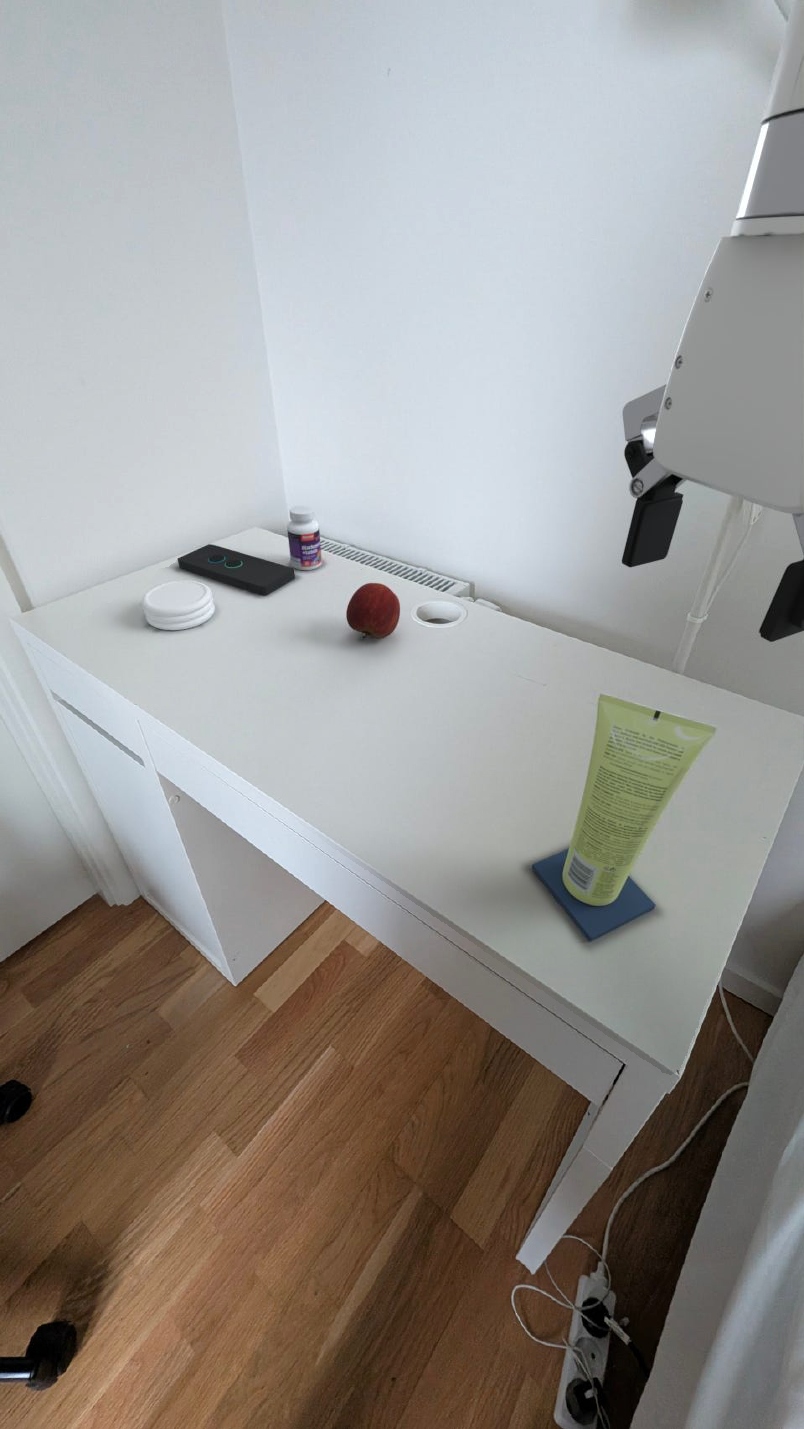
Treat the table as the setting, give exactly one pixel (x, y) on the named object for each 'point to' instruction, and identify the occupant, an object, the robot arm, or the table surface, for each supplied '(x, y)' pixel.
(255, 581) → the smart home device
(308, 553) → the pill bottle
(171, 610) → the coaster
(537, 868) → the mat
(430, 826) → the table surface
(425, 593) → the table surface
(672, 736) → the tube
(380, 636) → the apple
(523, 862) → the table surface
